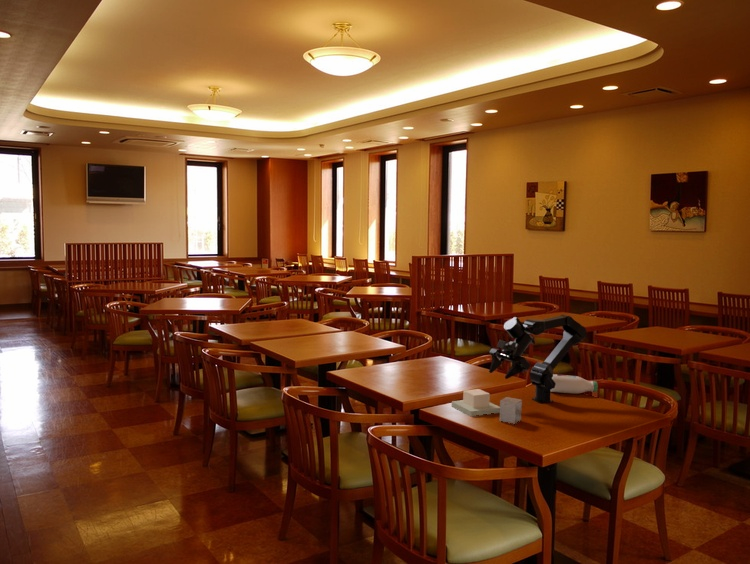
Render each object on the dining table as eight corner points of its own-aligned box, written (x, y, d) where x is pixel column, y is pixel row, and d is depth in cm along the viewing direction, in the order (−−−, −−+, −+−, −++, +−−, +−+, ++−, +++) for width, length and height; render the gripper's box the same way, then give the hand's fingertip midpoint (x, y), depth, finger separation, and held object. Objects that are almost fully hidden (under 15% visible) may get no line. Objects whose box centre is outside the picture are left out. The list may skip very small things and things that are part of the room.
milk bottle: (549, 395, 270) (595, 399, 267) (551, 384, 265) (599, 388, 262) (548, 381, 275) (593, 385, 273) (550, 370, 270) (597, 374, 267)
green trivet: (480, 402, 251) (480, 398, 251) (501, 412, 238) (501, 407, 238) (451, 406, 245) (451, 401, 245) (471, 416, 233) (471, 411, 232)
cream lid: (478, 401, 246) (479, 388, 246) (489, 406, 240) (489, 393, 239) (463, 402, 243) (463, 390, 243) (473, 408, 237) (473, 395, 236)
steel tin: (505, 417, 233) (506, 396, 232) (520, 420, 229) (521, 399, 228) (499, 421, 228) (500, 400, 227) (514, 424, 224) (515, 403, 224)
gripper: (493, 328, 251) (471, 357, 247) (526, 337, 235) (503, 369, 231) (507, 345, 256) (486, 374, 252) (540, 355, 240) (517, 386, 236)
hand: (497, 375), depth 242 cm, fingers open, 9 cm apart
